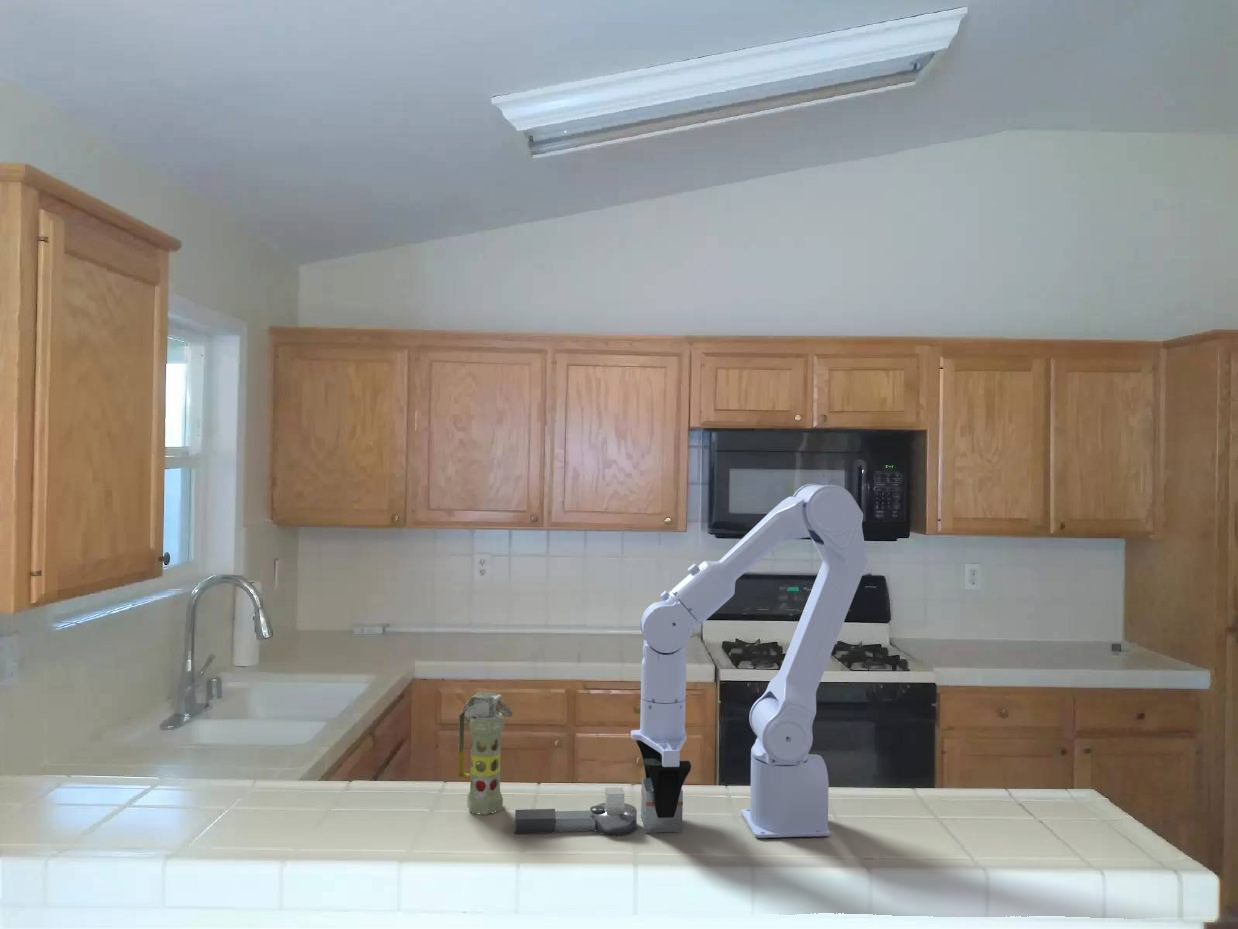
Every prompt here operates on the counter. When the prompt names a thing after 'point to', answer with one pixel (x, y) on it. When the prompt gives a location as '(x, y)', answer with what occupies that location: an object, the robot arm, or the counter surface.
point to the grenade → (483, 751)
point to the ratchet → (582, 817)
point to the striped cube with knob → (649, 813)
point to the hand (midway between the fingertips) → (660, 804)
